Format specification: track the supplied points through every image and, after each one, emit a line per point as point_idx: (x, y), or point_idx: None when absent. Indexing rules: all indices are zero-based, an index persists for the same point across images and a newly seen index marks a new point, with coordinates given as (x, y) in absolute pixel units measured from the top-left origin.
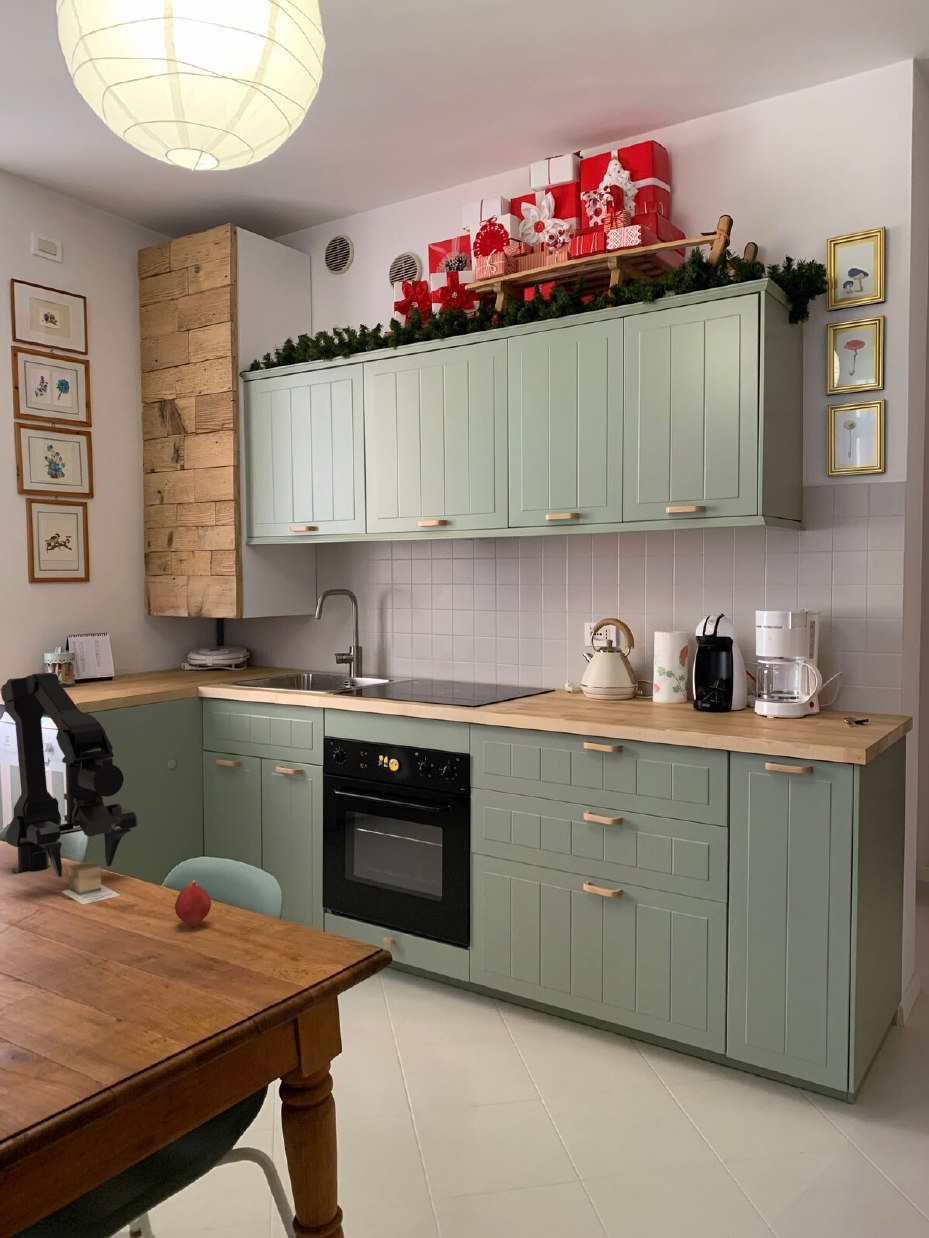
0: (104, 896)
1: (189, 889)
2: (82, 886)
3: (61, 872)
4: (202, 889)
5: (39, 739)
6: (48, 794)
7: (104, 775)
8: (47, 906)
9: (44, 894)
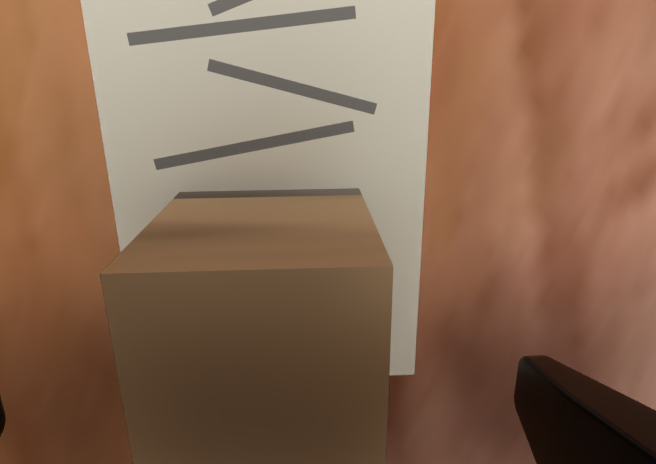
0: (209, 6)
1: None
2: (341, 207)
3: (549, 373)
4: None
5: None
6: None
7: None
8: (559, 223)
9: (458, 452)
